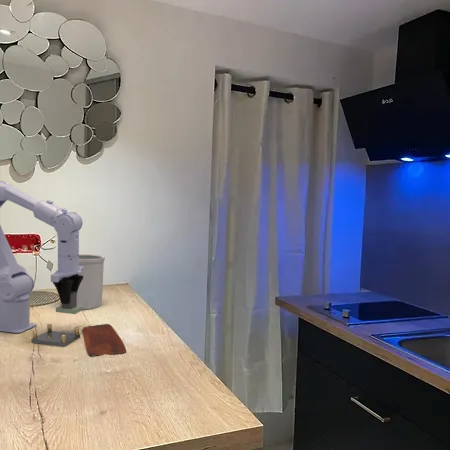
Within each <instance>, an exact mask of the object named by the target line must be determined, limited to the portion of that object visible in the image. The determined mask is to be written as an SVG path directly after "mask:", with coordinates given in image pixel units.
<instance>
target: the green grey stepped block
mask: <svg viewBox="0 0 450 450" xmlns="http://www.w3.org/2000/svg"><path fill="white" fill-rule="evenodd" d="M82 311H83V310H82V306H77V292H76V291H70V299H69V303H68V304H61V305H59V306H57V307H55V313H59V314H61V313H62V314H68V315H69V314H70V315H76V314H78V313H80V312H82Z"/></svg>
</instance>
